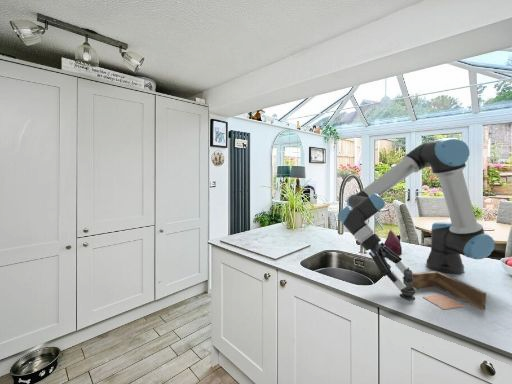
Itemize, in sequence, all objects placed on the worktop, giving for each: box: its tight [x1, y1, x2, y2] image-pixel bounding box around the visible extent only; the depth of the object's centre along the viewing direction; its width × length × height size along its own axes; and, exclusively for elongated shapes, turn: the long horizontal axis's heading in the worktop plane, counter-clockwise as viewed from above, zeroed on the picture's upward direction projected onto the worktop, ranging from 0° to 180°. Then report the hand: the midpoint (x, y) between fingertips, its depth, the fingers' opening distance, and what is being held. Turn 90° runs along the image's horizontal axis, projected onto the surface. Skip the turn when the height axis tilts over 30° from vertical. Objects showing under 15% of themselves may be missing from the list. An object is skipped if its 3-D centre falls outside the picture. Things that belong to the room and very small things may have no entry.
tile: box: [422, 293, 466, 311], centre depth 94 cm, size 9×9×1 cm
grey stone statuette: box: [399, 267, 417, 301], centre depth 98 cm, size 6×6×12 cm
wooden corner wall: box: [412, 270, 487, 310], centre depth 97 cm, size 12×20×6 cm, turn 9°
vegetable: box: [383, 229, 403, 256], centre depth 151 cm, size 10×10×15 cm
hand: (406, 282), depth 98 cm, fingers open, 13 cm apart
